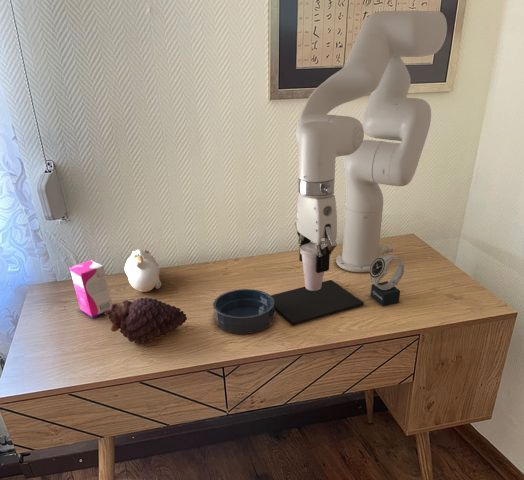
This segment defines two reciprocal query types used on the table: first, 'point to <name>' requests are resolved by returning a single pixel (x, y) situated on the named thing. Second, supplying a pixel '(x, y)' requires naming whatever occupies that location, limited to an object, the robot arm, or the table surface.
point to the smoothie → (311, 266)
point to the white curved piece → (142, 271)
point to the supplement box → (91, 288)
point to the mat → (314, 302)
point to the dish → (244, 311)
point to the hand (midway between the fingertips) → (313, 265)
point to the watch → (386, 290)
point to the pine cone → (145, 319)
